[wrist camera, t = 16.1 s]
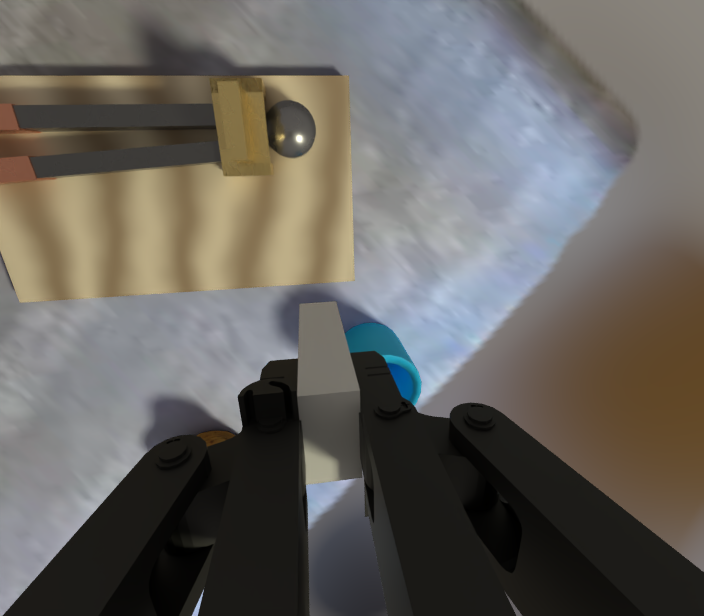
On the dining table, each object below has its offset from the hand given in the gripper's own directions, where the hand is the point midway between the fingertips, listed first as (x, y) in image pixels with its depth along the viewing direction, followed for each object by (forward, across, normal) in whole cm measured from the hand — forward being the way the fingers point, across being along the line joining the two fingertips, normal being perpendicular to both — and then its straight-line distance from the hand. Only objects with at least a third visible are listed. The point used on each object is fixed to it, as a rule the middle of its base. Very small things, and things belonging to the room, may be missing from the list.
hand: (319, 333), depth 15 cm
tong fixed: (+23, -13, +10) cm, 28 cm away
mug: (+25, +7, -16) cm, 30 cm away
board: (+24, -12, +5) cm, 28 cm away
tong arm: (+23, -15, +8) cm, 29 cm away
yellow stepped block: (+23, -5, +10) cm, 25 cm away
